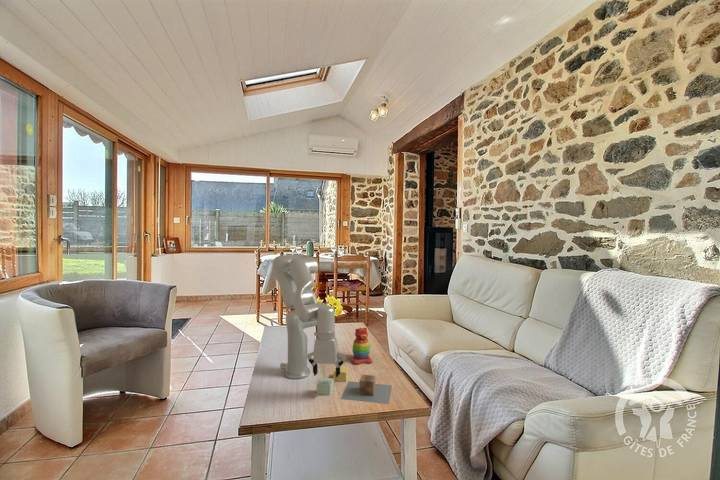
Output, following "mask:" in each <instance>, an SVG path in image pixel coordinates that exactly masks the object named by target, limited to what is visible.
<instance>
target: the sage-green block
mask: <svg viewBox="0 0 720 480" xmlns="http://www.w3.org/2000/svg"><path fill="white" fill-rule="evenodd" d="M334 384H335V381H334V379H333V377H332V378H331V377H330V378H329V377H321V376H320V378H319V379H318V381H317V382H316V386H315V387H316V395H315V396H316V398H317V397H318V396H319V395H322V396H323V395H324V396H331V394H332V392H333V391H334V388H335V387H334V386H335V385H334Z"/></svg>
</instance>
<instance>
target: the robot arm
mask: <svg viewBox="0 0 720 480" xmlns="http://www.w3.org/2000/svg"><path fill="white" fill-rule="evenodd" d="M271 266H272V272H273V276H274V277H275V279H276V281H277V283H278V286H279V289H280V293H281V297H282V300H283V304H284V305H285V307H286V308H287V309H290V311H289V312H287V314H286V316H285V324H286V331H287V362H286V363H283V362H281V363H280V364H279V366H280V370H284V374H283V375H284V376H285V377H286V378H288V379H293V380H294V379H295V380H297V379H298V380H299V379H304V378H306V377H308V376H310V374H311V368H309V367H308V362H309V364H310V365H311V367H312V374H313V376H317V374H318V370H319V369H318V368H319V367H318V364H325V365H326V364H327V365H335V368H336V377H338V375H340V366H341V367H342V365H343V364H344V363H345V361H346V359H347V356H346V355H345V354H343V353H342V352H339V347H338V339H337V337H336V326H335V325H336V322H335V318H336V317H335V313H336V312H335V311H336V310H335V307H334V306H331V305H328V304H327V303H325V302H318V301H317V297H316V295H315V292H314V291H313V288H314V286H315V281H314V278H313V276H312V275H314V274H316V273H317V272H318V271H319V262H318V261H317V259H316V258H315V257H313V256H310V255H307V254H301V253H300V254H283V255H279V256H275V258H274V259H273V260H272V265H271ZM289 272H290V273H289ZM291 309H293V310H291ZM312 327H313V328H314V327H316V328H317V329H316V332H314V333H313V336H316V338H315V339H314V344H313V351H312V352H310V353H308V335H307V334H306V332H305V331H304V329H308V328H312ZM312 356H313V358H312ZM339 358H341V360H340V361H339ZM336 366H337V367H336Z"/></svg>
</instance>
